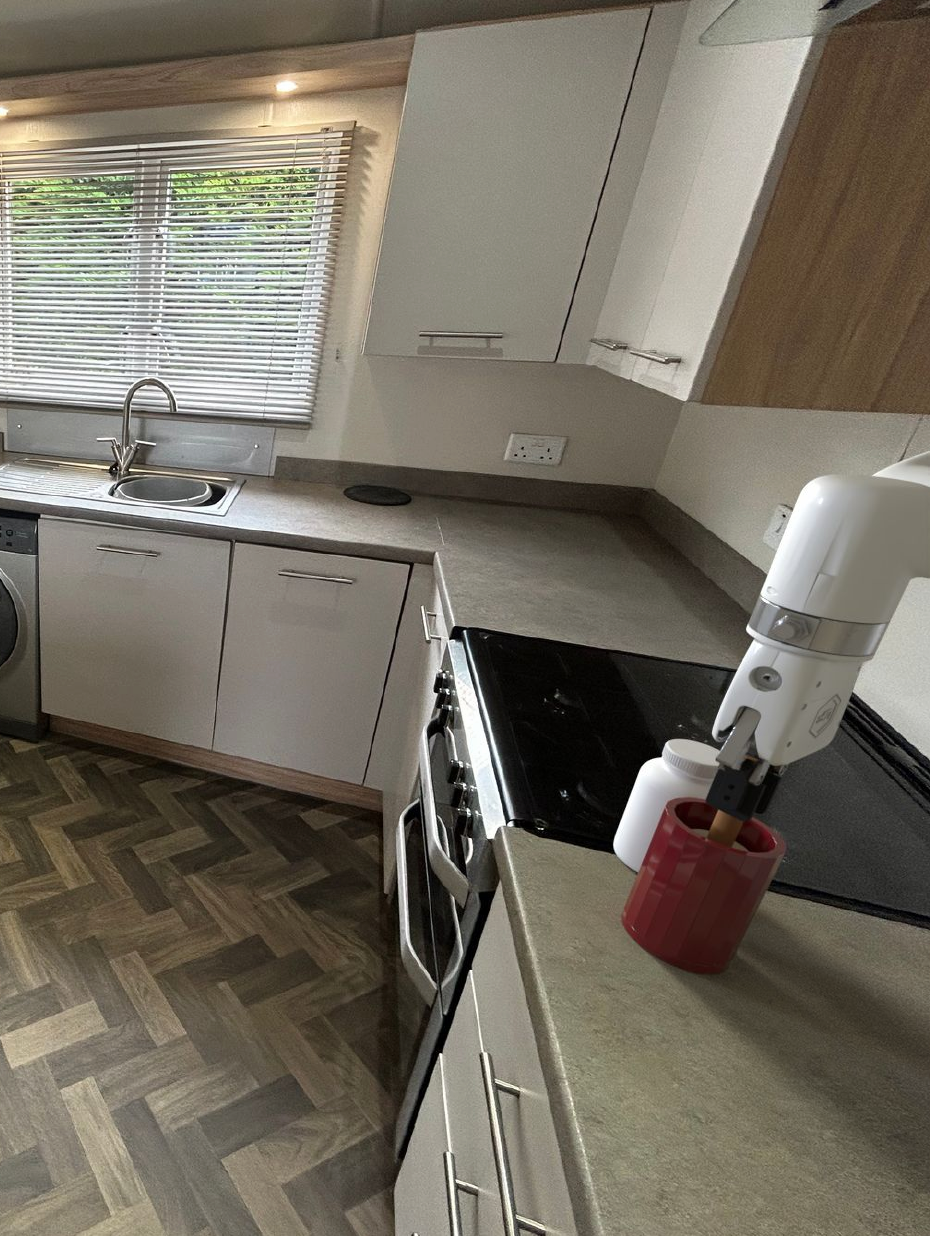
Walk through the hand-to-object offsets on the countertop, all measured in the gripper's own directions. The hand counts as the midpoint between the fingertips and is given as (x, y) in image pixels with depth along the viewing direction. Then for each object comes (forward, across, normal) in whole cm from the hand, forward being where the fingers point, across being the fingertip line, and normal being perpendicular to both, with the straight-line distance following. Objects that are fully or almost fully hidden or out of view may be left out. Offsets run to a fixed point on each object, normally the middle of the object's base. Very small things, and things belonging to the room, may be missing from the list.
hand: (735, 807), depth 65 cm
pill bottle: (+16, +10, +7) cm, 20 cm away
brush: (+12, 0, 0) cm, 12 cm away
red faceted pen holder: (+16, 0, 0) cm, 16 cm away
